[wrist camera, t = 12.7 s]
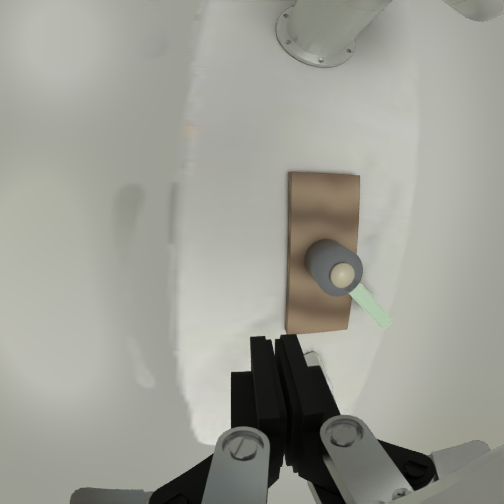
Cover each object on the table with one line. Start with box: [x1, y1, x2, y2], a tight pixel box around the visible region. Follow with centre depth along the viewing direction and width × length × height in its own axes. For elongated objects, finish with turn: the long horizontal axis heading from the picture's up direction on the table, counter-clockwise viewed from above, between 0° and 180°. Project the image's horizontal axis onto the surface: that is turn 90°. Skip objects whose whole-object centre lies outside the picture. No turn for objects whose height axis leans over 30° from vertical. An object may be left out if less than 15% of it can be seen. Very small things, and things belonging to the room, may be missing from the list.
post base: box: [285, 172, 360, 334], centre depth 40 cm, size 24×10×2 cm, turn 1°
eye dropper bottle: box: [304, 352, 335, 400], centre depth 40 cm, size 4×6×12 cm
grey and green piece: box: [305, 239, 393, 330], centre depth 36 cm, size 15×6×7 cm, turn 47°
